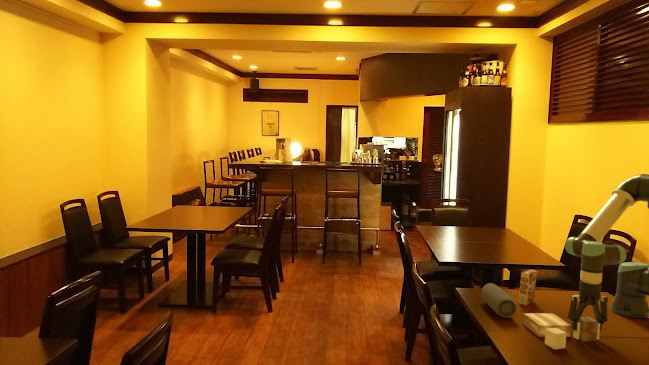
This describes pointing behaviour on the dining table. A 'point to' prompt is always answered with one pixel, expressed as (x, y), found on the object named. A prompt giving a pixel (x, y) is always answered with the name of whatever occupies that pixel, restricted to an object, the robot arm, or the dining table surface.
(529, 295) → the candy box
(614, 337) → the dining table surface
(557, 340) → the stoneware cube
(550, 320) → the beech block
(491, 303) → the bluetooth speaker
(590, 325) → the walnut block
